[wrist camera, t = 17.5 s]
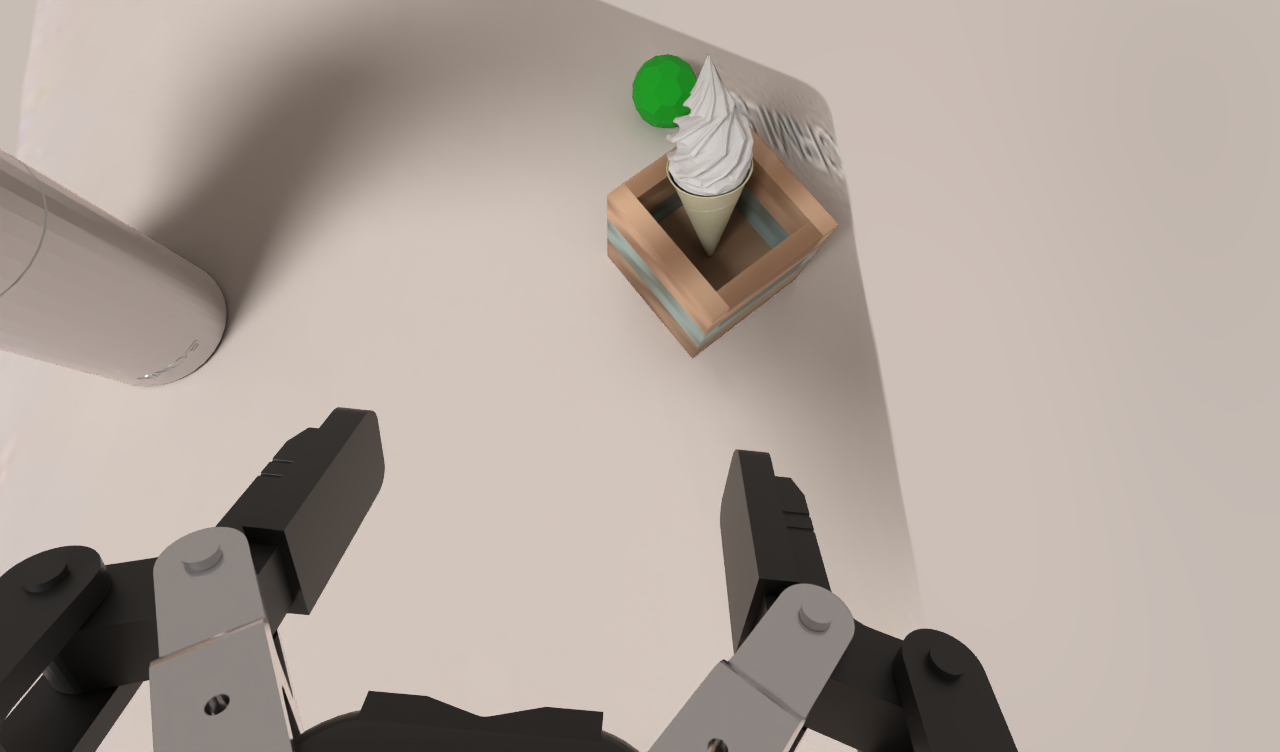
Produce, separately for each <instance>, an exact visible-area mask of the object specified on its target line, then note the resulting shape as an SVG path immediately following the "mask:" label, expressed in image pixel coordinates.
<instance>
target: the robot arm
mask: <svg viewBox="0 0 1280 752" xmlns="http://www.w3.org/2000/svg"><path fill="white" fill-rule="evenodd" d="M226 315H227V312H226V304H225V299H224V296H223V294H222V291H221V289H220V287H219V286H218V285H217V283H216V282H215V280H214V279H213V278H212V277H211V276H210V275H208V274H207V273H206V272H205V271H204V270H202V269H200V268H199V267H197V266H195V265H194V264H192V263H190V262H189V261H187V260H185V259H184V258H182V257H180V256H179V255H177V254H175V253H174V252H172V251H170V250H169V249H167V248H166V247H164V246H162V245H161V244H159V243H157V242H156V241H154V240H152V239H151V238H149V237H147V236H146V235H144V234H142V233H140V232H139V231H137V230H135V229H134V228H132V227H130V226H129V225H127V224H125V223H124V222H122V221H120V220H119V219H117V218H115V217H114V216H112V215H110V214H109V213H107V212H105V211H104V210H102V209H100V208H99V207H97V206H95V205H94V204H92V203H90V202H88V201H87V200H85V199H83V198H82V197H80V196H78V195H77V194H75V193H73V192H72V191H70V190H68V189H67V188H65V187H63V186H62V185H60V184H58V183H57V182H55V181H53V180H52V179H50V178H48V177H47V176H45V175H43V174H42V173H40V172H38V171H37V170H35V169H33V168H31V167H30V166H28V165H26V164H25V163H23V162H21V161H20V160H18V159H16V158H15V157H13V156H11V155H9V154H7V153H6V152H4V151H2V150H1V149H0V350H4V351H8V352H11V353H15V354H19V355H23V356H26V357H30V358H34V359H38V360H41V361H45V362H49V363H53V364H56V365H60V366H64V367H68V368H71V369H75V370H79V371H82V372H86V373H90V374H94V375H98V376H102V377H106V378H109V379H113V380H117V381H121V382H124V383H128V384H132V385H139V386H155V385H163V384H167V383H170V382H173V381H176V380H179V379H181V378H183V377H185V376H186V375H188V374H190V373H192V372H193V371H195V370H196V369H197V368H198V367H200V366H201V365H202V364H203V363H204V362H205V361H206V360H207V359H208V358H209V357H210V356H211V354H212V353H213V352H214V351H215V349H216V347H217V345H218V344H219V342H220V340H221V338H222V335H223V332H224V329H225V325H226ZM384 471H385V464H384V457H383V451H382V444H381V438H380V431H379V425H378V419H377V416H376V413H375V412H374V411H370V410H360V409H351V408H341V407H338V408H336V409H334V410H333V411H332V413H331V414H330V415H329V416H328V418H327V419H326V420H325V421H324V423H323V424H322V425H321V427H320V428H307V429H306V430H304V431H303V432H301V433H299V434H298V435H296V436H295V437H293V438H292V439H290V440H288V441H287V442H286V443H285V444H284V445H283V447H282V448H281V449H280V450H279V451H278V453H277V454H276V455H275V456H274V457H273V461H272V462H269V463H268V465H267V466H266V467H265V468H264V469H263V471H262V472H261V476H258V477H257V478H256V479H255V480H254V481H253V482H252V484H251V485H250V486H249V487H248V488H247V490H246V491H245V492H244V493H243V494H242V496H241V497H240V498H239V499H238V500H237V502H236V503H235V504H234V505H233V506H232V508H231V509H230V510H229V511H228V512H227V514H226V515H225V516H224V517H223V518H222V519H221V521H220V522H219V523H218V524H217V525H216V527H212V528H206V529H202V530H198V531H196V532H193V533H190V534H188V535H186V536H184V537H182V538H180V539H178V540H177V541H175V542H174V543H172V544H171V545H170V546H168V547H167V548H166V549H165V550H164V551H163V552H162V553H161V554H160V556H159V557H156V558H151V559H144V560H137V561H130V562H124V563H117V564H110V565H104V563H103V561H102V559H101V557H100V555H99V554H98V553H97V552H96V551H95V550H93V549H92V548H89V547H85V546H64V547H59V548H54V549H50V550H47V551H44V552H41V553H39V554H36V555H34V556H32V557H29V558H27V559H25V560H24V561H22V562H20V563H18V564H17V565H15V566H14V567H12V568H11V569H9V570H8V571H7V572H6V573H5V574H3V575H2V576H1V577H0V752H95V751H96V750H97V748H98V747H99V745H100V744H101V742H102V741H103V739H104V738H105V736H106V735H107V734H108V732H109V731H110V729H111V728H112V726H113V725H114V723H115V722H116V720H117V719H118V717H119V716H120V715H121V713H122V712H123V710H124V709H125V707H126V706H127V704H128V703H129V701H130V700H131V699H132V697H133V696H134V694H135V693H136V691H137V690H138V688H139V687H140V685H141V684H142V682H143V681H147V680H150V698H151V715H152V732H153V749H154V752H639V751H638V750H637V749H635V748H634V747H632V746H631V745H630V744H628V743H627V742H626V741H624V740H622V739H620V738H618V737H617V736H615V735H613V734H610V733H608V732H605V731H603V730H602V722H603V712H597V711H586V710H574V709H563V708H552V707H543V708H537V709H531V710H525V711H519V712H513V713H507V714H501V715H496V716H490V717H481V716H477V715H475V714H472V713H469V712H467V711H464V710H462V709H459V708H456V707H454V706H451V705H449V704H446V703H443V702H441V701H438V700H436V699H433V698H430V697H428V696H420V695H409V694H397V693H386V692H375V691H369V692H368V694H367V697H366V699H365V701H364V704H363V706H362V709H361V710H360V711H355V712H351V713H347V714H344V715H340V716H337V717H334V718H332V719H329V720H327V721H324V722H322V723H320V724H318V725H316V726H314V727H312V728H310V729H308V730H306V731H304V728H303V725H302V721H301V718H300V714H299V710H298V707H297V702H296V698H295V694H294V690H293V686H292V682H291V678H290V674H289V670H288V666H287V662H286V658H285V653H284V649H283V645H282V641H281V637H280V634H279V631H278V627H279V625H280V623H281V622H282V620H283V619H284V617H285V615H286V614H287V613H293V614H304V615H309V614H310V612H311V611H312V609H313V607H314V605H315V604H316V602H317V600H318V598H319V597H320V595H321V593H322V591H323V590H324V588H325V586H326V584H327V583H328V581H329V579H330V577H331V575H332V574H333V572H334V570H335V568H336V567H337V565H338V563H339V561H340V560H341V558H342V556H343V554H344V553H345V551H346V549H347V547H348V546H349V544H350V542H351V540H352V539H353V537H354V535H355V533H356V532H357V530H358V528H359V526H360V525H361V523H362V521H363V519H364V517H365V516H366V514H367V512H368V510H369V509H370V507H371V505H372V503H373V502H374V500H375V498H376V496H377V495H378V493H379V491H380V489H381V486H382V483H383V478H384ZM720 527H721V537H722V546H723V555H724V565H725V574H726V584H727V593H728V602H729V612H730V621H731V630H732V640H733V649H734V656H733V657H732V658H731V659H730V660H729V661H728V662H727V661H726V660H722V661H720V662H719V663H718V664H717V665H716V666H715V667H714V668H713V670H712V671H711V672H710V673H709V675H708V676H707V677H706V678H705V680H704V681H703V682H702V684H701V685H700V686H699V687H698V689H697V690H696V691H695V692H694V694H693V695H692V696H691V698H690V699H689V700H688V701H687V703H686V704H685V705H684V706H683V708H682V709H681V710H680V711H679V713H678V714H677V715H676V717H675V718H674V719H673V720H672V722H671V723H670V724H669V725H668V727H667V728H666V729H665V731H664V732H663V733H662V734H661V736H660V737H659V738H658V739H657V741H656V742H655V743H654V745H653V746H652V747H651V748H650V750H649V751H648V752H795V751H796V750H797V748H798V746H799V744H800V743H801V741H802V739H803V737H804V736H805V734H806V732H807V730H808V729H812V730H814V731H816V732H819V733H821V734H823V735H825V736H828V737H830V738H832V739H835V740H837V741H839V742H842V743H844V744H846V745H848V746H851V747H853V748H855V749H857V750H858V752H1018V750H1017V748H1016V746H1015V744H1014V741H1013V738H1012V736H1011V733H1010V731H1009V729H1008V726H1007V724H1006V721H1005V719H1004V716H1003V714H1002V712H1001V709H1000V707H999V704H998V702H997V700H996V697H995V695H994V692H993V690H992V687H991V685H990V683H989V680H988V678H987V675H986V673H985V671H984V668H983V666H982V665H981V663H980V661H979V660H978V659H977V657H976V656H975V655H974V654H973V652H972V651H971V650H970V649H969V648H967V647H966V646H965V645H964V644H963V643H961V642H960V641H958V640H957V639H955V638H954V637H952V636H950V635H948V634H946V633H943V632H940V631H937V630H932V629H918V630H915V631H913V632H911V633H909V634H908V635H907V636H906V638H905V639H904V641H903V640H900V639H898V638H895V637H892V636H890V635H887V634H885V633H882V632H879V631H877V630H874V629H872V628H869V627H867V626H865V625H863V624H861V623H860V622H858V621H856V620H855V619H854V618H853V616H852V614H851V612H850V610H849V609H848V607H847V606H846V605H845V603H844V602H843V601H842V600H841V599H840V598H839V597H838V596H836V595H835V594H833V593H832V591H831V589H830V585H829V582H828V578H827V575H826V571H825V568H824V564H823V560H822V557H821V553H820V550H819V546H818V543H817V539H816V535H815V533H814V532H813V530H814V528H813V525H812V521H811V518H810V517H809V510H808V507H807V503H806V500H805V496H804V494H803V493H802V492H801V491H800V489H799V488H798V487H797V485H796V484H795V483H794V482H793V480H792V479H791V478H787V477H777V476H775V475H774V470H773V466H772V462H771V457H770V455H769V453H766V452H756V451H747V450H737V449H736V450H735V451H734V453H733V457H732V461H731V465H730V469H729V473H728V477H727V481H726V486H725V490H724V494H723V498H722V503H721V513H720ZM42 673H43V675H42V676H41V678H40V679H39V680H38V681H37V682H36V684H35V685H34V686H33V687H32V688H31V690H30V691H29V692H28V693H27V694H26V696H25V697H24V698H23V699H22V700H21V702H20V703H19V704H18V705H17V706H16V708H15V709H14V710H13V711H12V712H11V713H10V715H9V716H8V717H7V715H8V713H9V712H10V711H11V709H12V708H13V707H14V706H15V704H16V703H17V702H18V701H19V700H20V698H21V697H22V696H23V695H24V694H25V693H26V691H27V690H28V689H29V688H30V687H31V685H32V684H33V683H34V682H35V681H36V679H37V678H38V677H39V676H40V675H41V674H42ZM6 717H7V718H6Z"/></svg>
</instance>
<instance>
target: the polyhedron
mask: <svg viewBox="0 0 1280 752" xmlns="http://www.w3.org/2000/svg"><path fill="white" fill-rule="evenodd" d="M696 82H697V79H696V77H695V74H694V72H693V70H692V68H691V66H690V65H689V64H688V63H687V62H685V61H684V60H682V59H681V58H679V57H677V56H672V55H668V54H667V55H660V56H655V57H653V58H652V59H650V60H648V61H647V62H645V63H644V64H643V66H642V67H641V68H640V70H639V71H638V72H637V75H636V77H635V80H634V83H633V96H632V98H633V101H634V103H635V106H636V109H637V111H638V112H639V114H640V115H641V117H642V118H643V119H644V120H645V121H647V122H648V123H649V124H651V125H652V126H656V127H663V128H666V127H676V126H677V125H678V124H676V123H674V122H673V121H674V119H675V118H676V117H681V116H685V115H689V114H690V113H691V109H690V108H689V107H687V106H683V103H684V102H685V101H686V100H687V99H688V98H689V97H690V96H691V94H690V92H691V91H692V89H693V88H694V86H695V84H696Z"/></svg>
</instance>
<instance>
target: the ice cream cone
mask: <svg viewBox="0 0 1280 752" xmlns="http://www.w3.org/2000/svg"><path fill="white" fill-rule="evenodd" d="M690 94H691V96H690V97H689V98H688V99H687V100H686V101H685V102H684V103H683V106H687V107H689V108H690V109H691V113H690V114H689V115H685V116H681V117H676V118H675V119H674V121H673V122H674V123H676V124H678V125H679V131H678V132H676V133H671V134H667V136H666V139H667V140H669V141H671V142H673V143H674V142H675V143H676V145H677V148H676V149H675V150H674V151H671V152H668V153H667V157H668V161H667V166H666V170H667V175H668V178H669V180H670V182H671V183H672V185H673V186H674V187H675V188H676V191H677V193H678V195H679V197H680V199H681V201H682V203H683V205H684V208H685V210H686V212H687V214H688V216H689V219H690V221H691V223H692V225H693V227H694V229H695V231H696V233H697V235H698V238H699V240H700V242H701V244H702V246H703V248H704V250H705V252H706V255H707V256H712V255H713V254H714V252H715V249H716V247H717V245H718V243H719V241H720V238H721V236H722V234H723V232H724V230H725V227H726V225H727V223H728V221H729V218H730V216H731V214H732V212H733V210H734V207H735V205H736V203H737V201H738V199H739V196H740V194H741V191H742V189H743V187H744V185H745V183H746V182H747V181H748V179H749V178H750V176H751V174H752V171H753V159H752V157H753V152H752V146H753V138H752V135H751V131H750V128H749V124H748V120H747V119H746V118H745V117H744V116H743V115H741V114H740V113H739V112H738V111H736V110H735V109H734V105H735V101H734V100H733V98H732V97H731V95H730V94H729V92H728V90H727V89H726V88H725V86H724V84H723V82H722V80H721V78H720V76H719V74H718V72H717V70H716V68H715V66H714V64H713V62H712V60H711V57H710V55H709V54H707V58H706V61H705V63H704V65H703V68H702V70H701V72H700V75H699V77H698V79H697V82H696V84H695V86H694V88H693V89H692V91H691V92H690Z"/></svg>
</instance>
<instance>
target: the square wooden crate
mask: <svg viewBox="0 0 1280 752" xmlns="http://www.w3.org/2000/svg"><path fill="white" fill-rule="evenodd" d="M749 128H750V131H751V135H752V138H753V146H752V152H753V157H752V159H753V171H752V174H751V176H750V178H749V179H748V181H747V182H746V183H745V185H744V187H743V189H742V191H741V194H740V196H739V199H738V201H737V203H736V205H735V207H734V210H733V212H732V214H731V216H730V218H729V221H728V223H727V225H726V227H725V230H724V232H723V234H722V236H721V238H720V241H719V243H718V245H717V247H716V249H715V252H714V254H713V255H712V256H707V255H706V252H705V250H704V248H703V246H702V244H701V242H700V240H699V238H698V235H697V233H696V231H695V229H694V227H693V225H692V223H691V221H690V219H689V216H688V214H687V212H686V210H685V208H684V205H683V203H682V201H681V199H680V197H679V195H678V193H677V191H676V188H675V187H674V186H673V185H672V183H671V182H670V180H669V178H668V175H667V170H666V166H667V161H668V157H667V154H665V155H664V156H662V157H661V158H659V159H658V160H656V161H655V162H654V163H652V164H651V165H649V166H648V167H646V168H645V169H643V170H642V171H641V172H639V173H638V174H636V175H635V176H633V177H632V178H630V179H629V180H628V181H626V182H625V183H623V184H622V185H620V186H619V187H617V188H616V189H615V190H613V191H612V192H610V193H609V194H607V226H608V257H609V258H610V259H611V260H612V262H613V263H614V264H615V265H616V266H617V268H618V269H619V270H620V271H621V272H622V274H623V275H624V276H625V277H626V279H627V280H628V281H629V282H630V283H631V285H632V286H633V287H634V288H635V289H636V291H637V292H638V293H639V294H640V295H641V297H642V298H643V299H644V300H645V301H646V303H647V304H648V305H649V306H650V308H651V309H652V310H653V311H654V312H655V314H656V315H657V316H658V317H659V318H660V320H661V321H662V322H663V323H664V324H665V326H666V327H667V328H668V329H669V330H670V332H671V333H672V334H673V335H674V337H675V338H676V339H677V340H678V341H679V343H680V344H681V345H682V346H683V347H684V349H685V350H686V351H687V352H688V353H689V355H690V356H691V357H692V358H694V357H695V356H696V355H698V354H699V353H700V352H701V351H703V350H704V349H705V348H707V347H708V346H709V345H710V344H712V343H713V342H714V341H716V340H717V339H718V338H719V337H721V336H722V335H723V334H725V333H726V332H727V331H728V330H730V329H731V328H732V327H734V326H735V325H736V324H737V323H739V322H740V321H741V320H743V319H744V318H745V317H747V316H748V315H749V314H750V313H752V312H753V311H754V310H756V309H757V308H758V307H759V306H761V305H762V304H763V303H765V302H766V301H767V300H768V299H770V298H771V297H772V296H774V295H775V294H776V293H777V292H779V291H780V290H781V289H783V288H784V287H785V286H786V285H788V284H789V283H790V282H792V281H793V280H794V279H795V278H796V277H797V275H798V274H799V273H800V272H801V270H802V269H803V268H804V267H805V266H806V264H807V263H808V262H809V261H810V259H811V258H812V257H813V256H814V254H815V253H816V252H817V251H818V249H819V248H820V247H821V246H822V244H823V243H824V242H825V241H826V239H827V238H828V237H829V236H830V234H831V233H832V232H833V231H834V229H835V228H836V227H837V226H838V223H837V222H836V221H835V220H834V219H833V218H832V216H831V215H830V214H829V213H828V212H827V211H826V210H825V209H824V208H823V207H822V205H821V204H820V203H819V202H818V201H817V200H816V199H815V198H814V197H813V196H812V194H811V193H810V192H809V191H808V190H807V189H806V188H805V187H804V186H803V185H802V183H801V182H800V181H799V180H798V179H797V178H796V177H795V176H794V175H793V174H792V172H791V171H790V170H789V169H788V168H787V167H786V166H785V165H784V164H783V162H782V161H781V160H780V159H779V158H778V157H777V156H776V155H775V154H774V153H773V151H772V150H771V149H770V148H769V147H768V146H767V145H766V144H765V143H764V142H763V140H762V139H761V138H760V137H759V136H758V135H757V134H756V133H755V132H754V131H753V129H752V128H751V127H750V126H749ZM676 148H677V147H675V148H674V149H672V150H671V151H674V150H675V149H676ZM671 151H669V152H671Z"/></svg>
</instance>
